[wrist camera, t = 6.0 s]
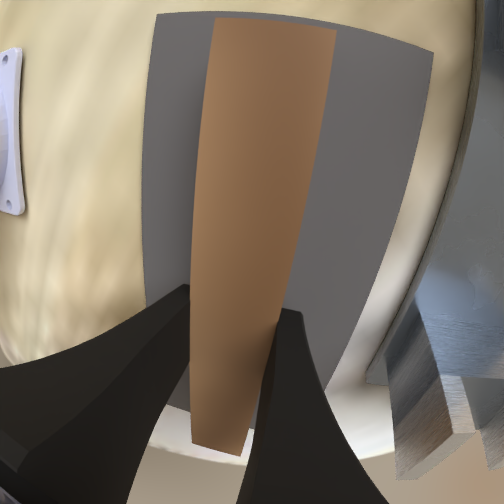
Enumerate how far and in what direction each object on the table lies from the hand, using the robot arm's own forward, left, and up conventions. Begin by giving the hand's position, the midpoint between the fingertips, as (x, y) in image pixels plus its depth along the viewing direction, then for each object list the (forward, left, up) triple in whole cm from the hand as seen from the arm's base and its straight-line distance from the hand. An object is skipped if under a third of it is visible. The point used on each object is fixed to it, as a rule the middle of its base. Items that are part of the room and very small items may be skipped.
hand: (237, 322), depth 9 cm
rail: (0, 0, -1) cm, 1 cm away
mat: (0, 0, -2) cm, 2 cm away
